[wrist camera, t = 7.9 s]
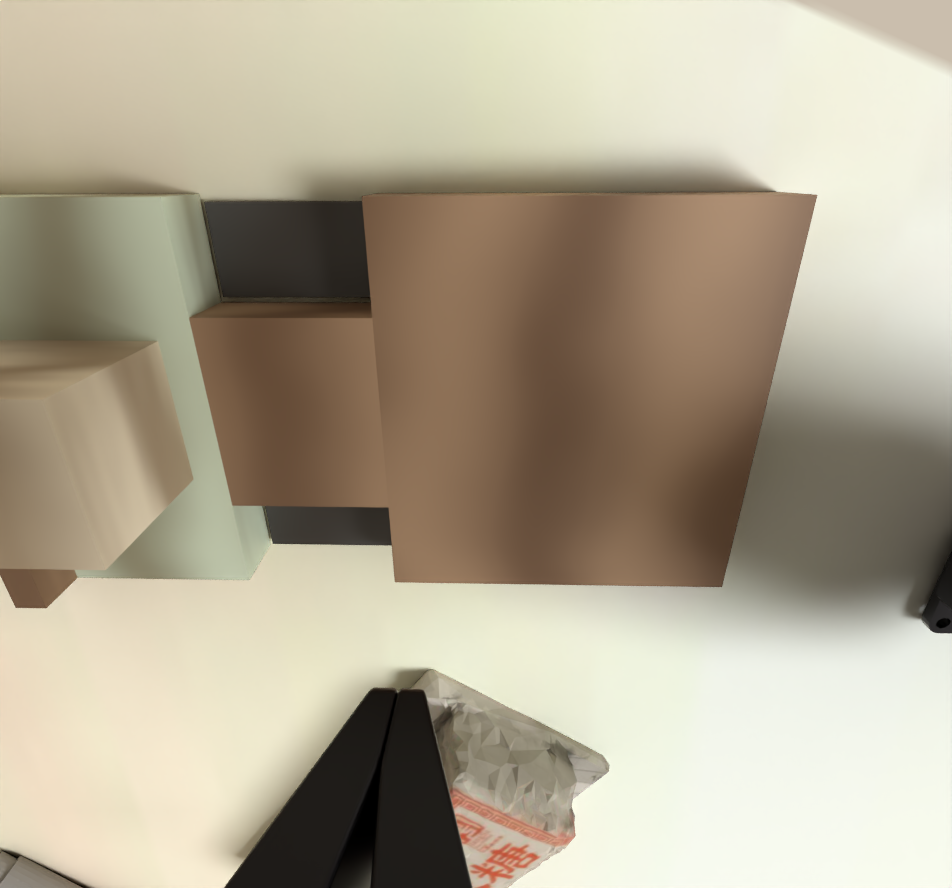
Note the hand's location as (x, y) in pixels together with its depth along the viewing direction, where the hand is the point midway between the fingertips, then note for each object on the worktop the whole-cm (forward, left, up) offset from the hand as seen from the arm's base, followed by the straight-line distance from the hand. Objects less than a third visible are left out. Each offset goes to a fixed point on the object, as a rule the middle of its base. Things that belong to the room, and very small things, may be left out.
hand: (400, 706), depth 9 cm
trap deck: (+2, -1, -11) cm, 11 cm away
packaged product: (+2, +21, -12) cm, 24 cm away
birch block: (+10, -1, -9) cm, 13 cm away
